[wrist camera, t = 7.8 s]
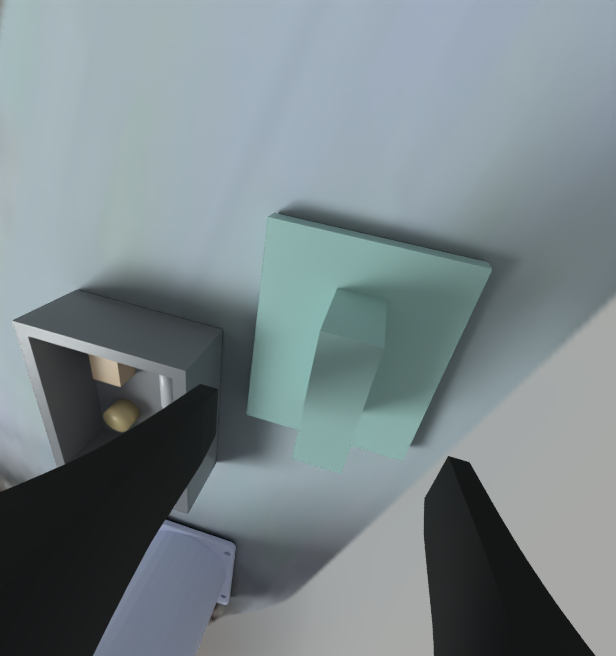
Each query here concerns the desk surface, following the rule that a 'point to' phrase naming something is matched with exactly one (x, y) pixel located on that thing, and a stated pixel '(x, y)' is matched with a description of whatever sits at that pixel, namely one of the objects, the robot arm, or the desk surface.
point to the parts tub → (114, 371)
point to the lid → (354, 336)
